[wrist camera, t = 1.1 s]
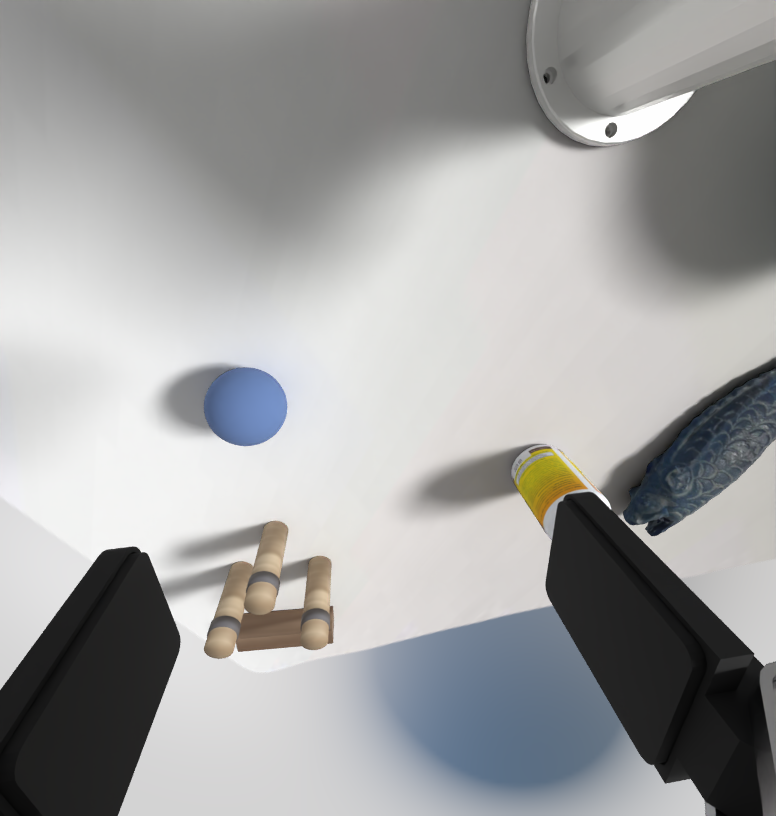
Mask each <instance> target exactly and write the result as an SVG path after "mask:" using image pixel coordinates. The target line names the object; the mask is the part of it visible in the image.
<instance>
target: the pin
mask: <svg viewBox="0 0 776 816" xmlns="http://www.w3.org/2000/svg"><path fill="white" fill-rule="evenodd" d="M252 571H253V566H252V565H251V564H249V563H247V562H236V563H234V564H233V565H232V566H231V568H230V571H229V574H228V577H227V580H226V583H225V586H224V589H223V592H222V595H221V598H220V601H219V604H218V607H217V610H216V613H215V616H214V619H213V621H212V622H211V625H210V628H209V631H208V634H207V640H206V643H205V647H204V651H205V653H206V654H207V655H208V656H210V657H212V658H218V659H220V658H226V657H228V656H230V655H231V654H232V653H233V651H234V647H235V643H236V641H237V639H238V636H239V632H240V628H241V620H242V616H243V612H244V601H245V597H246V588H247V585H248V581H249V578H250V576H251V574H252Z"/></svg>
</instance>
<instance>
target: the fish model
mask: <svg viewBox="0 0 776 816" xmlns="http://www.w3.org/2000/svg"><path fill="white" fill-rule="evenodd" d="M775 439H776V368H774V369H772V370H771V371H768V372H766V373H763V374H759V377H758V378H753V379H751V380H749V381H747V382H746V383H745V384H744V385H742V386H741V387H737V388H735V389H734V390H733V391H732V392H731V393H729V394H728V395H727V396H725V397H724V398H722V399H720V400H718V401H717V402H716V403H715V404H714V405H711V406H710V407H708V408H707V409H706V410H704V411H703V413H702V414H701V415H700V416H698V417H696V418H694V419H693V420H692V421H691V423H690V424H689V426H688V427H686V428H684V429H683V430H682V431H681V433H680V434H679V436H678V438H677V439H676V440H675V441H674V442H673V444H672V446H671V447H670V448H668V449H667V450H666V451H665V453H664V454H662V455H660V456H659V457H658V458H654V459H653V461H652V462H650V463H649V464H648V466H647V471H646V475H645V477H644V479H643V480H642V483H641V485H640V486H639V487H634V488H631V489H630V490H629V493H630V496H631V502H630V504H629V506H628V508H627V509H626V510H625V511H624V512H623V516H624V519H625V521H627V522H628V523H629V524H630V525H640V524H645V523H647V522H648V526H647V527H646V528H645V530H647V532H648V533H649V534H650V535H651V536H656V535H659V534H660V533H662V532H664V531H666V530H667V529H668V528H670V527H672V526H673V525H675V524H677V523H678V522H680V521H681V520H683V519H684V518H685V517H686V516H688V515H691V514H693V513H694V512H695V511H696V510H698V509H699V508H701V507H702V506H703V505H705V504H706V503H707V502H708V501H709V500H711V499H712V498H714V497H715V496H717V495H719V494H720V493H721V492H722V491H723V490H724V489H726V488H727V487H728V486H729V485H730V484H731V483H733V482H735V481H736V480H737V479H738V478H739V477H740V476H741V475H742V474H743V473H744V472H745V471H746V470H747V469H748V468H749V467H750V466H751V465H752V464H753V463H754V462H755V461H756V460H757V459H758V458H759V457H760V456H761V454H762V453H763V452H764V450H765V449H766V448H767V447H768V446H769V445H770V444H771V442H773V441H774V440H775Z"/></svg>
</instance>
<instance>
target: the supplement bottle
mask: <svg viewBox="0 0 776 816" xmlns="http://www.w3.org/2000/svg"><path fill="white" fill-rule="evenodd" d="M511 477H512V480H513V483H514V484H515V486H516V488H517V489H518V491H519V492H520V494H521V495H522V497H523V498H524V500H525V502H526V503H527V505H528V506H529V508H530V509H531V511H532V512H533V514H534V515H535V517H536V518H537V520H538V521H539V523H540V525H541V526H542V528H543V529H544V531H545V533H546V534H547V535H548V537H549V538H550V539H551V540H552V537H553V530H554V524H555V517H556V511H557V505H558V503H559V502H560V501H563V499H564V497H565V495H567V494H573V493H581V492H589V491H590V492H593V493H595V494H596V495H597V496H598V497H599V498H600V499H601V500H602V501H603V502H604V503H605V504H606V505H607V506H608V507H609V508H610V509H611V507H610V504H609V502H608V500H607V499H606V498H605V496H604V495H603V494H602V493H601V492H600V491H599V490H598V489H597V488H596V487H595V486H594V485H593V484H592V483H591V482H590V481H589V479H588V478H587V477H586V476H585V475H584V474H583V473H582V472H581V471H580V470H579V469H578V468H577V467H576V466H575V465H574V464H573V463H572V461H571V460H570V459H569V458H568V457H567V456H566V455H565V454H564V453H563V452H562V451H561V450H559V449H558V448H556V447H554V446H551V445H536V446H533V447H530V448H528V449H526V450H525V451H523V452H522V453H521V454H520V455H519V456H518V457H517V458H516V460H515V461H514V464H513V466H512V470H511Z"/></svg>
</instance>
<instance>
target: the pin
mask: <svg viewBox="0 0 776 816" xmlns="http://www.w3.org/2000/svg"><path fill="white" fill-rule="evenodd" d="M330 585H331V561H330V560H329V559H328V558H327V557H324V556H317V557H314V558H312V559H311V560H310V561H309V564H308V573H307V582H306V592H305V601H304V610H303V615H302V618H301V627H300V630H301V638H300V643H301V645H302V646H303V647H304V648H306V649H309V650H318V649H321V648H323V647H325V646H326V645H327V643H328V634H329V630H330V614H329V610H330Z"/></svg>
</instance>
